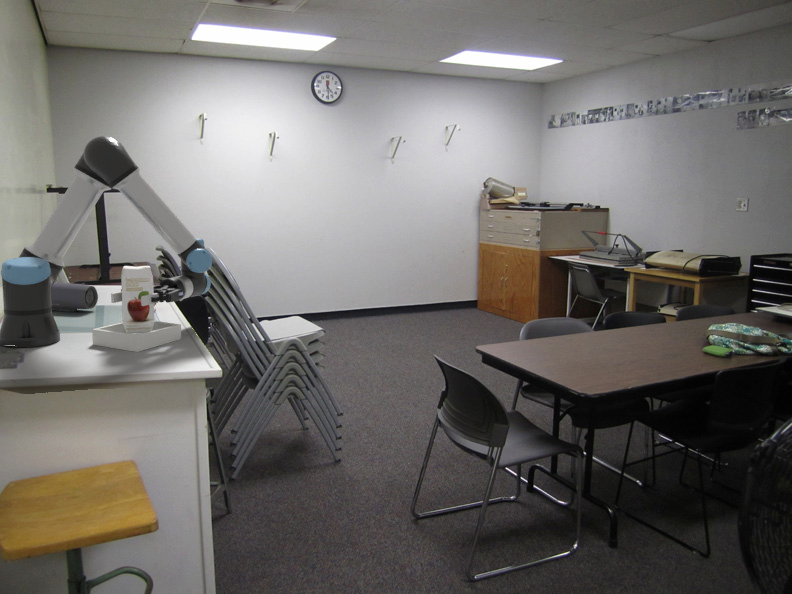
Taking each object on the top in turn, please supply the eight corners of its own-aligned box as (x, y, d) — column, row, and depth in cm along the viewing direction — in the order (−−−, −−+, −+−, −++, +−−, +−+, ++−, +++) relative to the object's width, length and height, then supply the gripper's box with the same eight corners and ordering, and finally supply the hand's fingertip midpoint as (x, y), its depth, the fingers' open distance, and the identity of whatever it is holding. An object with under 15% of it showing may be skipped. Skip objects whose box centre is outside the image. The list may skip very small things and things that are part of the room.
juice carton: (122, 328, 178) (120, 265, 175) (153, 327, 182) (152, 265, 179) (123, 334, 172) (120, 268, 169) (155, 332, 175) (153, 268, 172)
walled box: (137, 352, 166) (136, 336, 166) (92, 344, 172) (92, 329, 171) (181, 338, 183) (181, 324, 182) (139, 332, 188) (139, 318, 188)
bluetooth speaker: (99, 309, 219) (98, 282, 218) (84, 314, 210) (83, 286, 209) (41, 305, 222) (39, 278, 220) (23, 310, 212) (21, 282, 211)
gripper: (205, 303, 190) (161, 316, 169) (146, 297, 196) (95, 309, 174) (205, 280, 189) (160, 289, 168) (145, 274, 194) (94, 283, 173)
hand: (127, 299), depth 171 cm, fingers closed on juice carton, 9 cm apart
